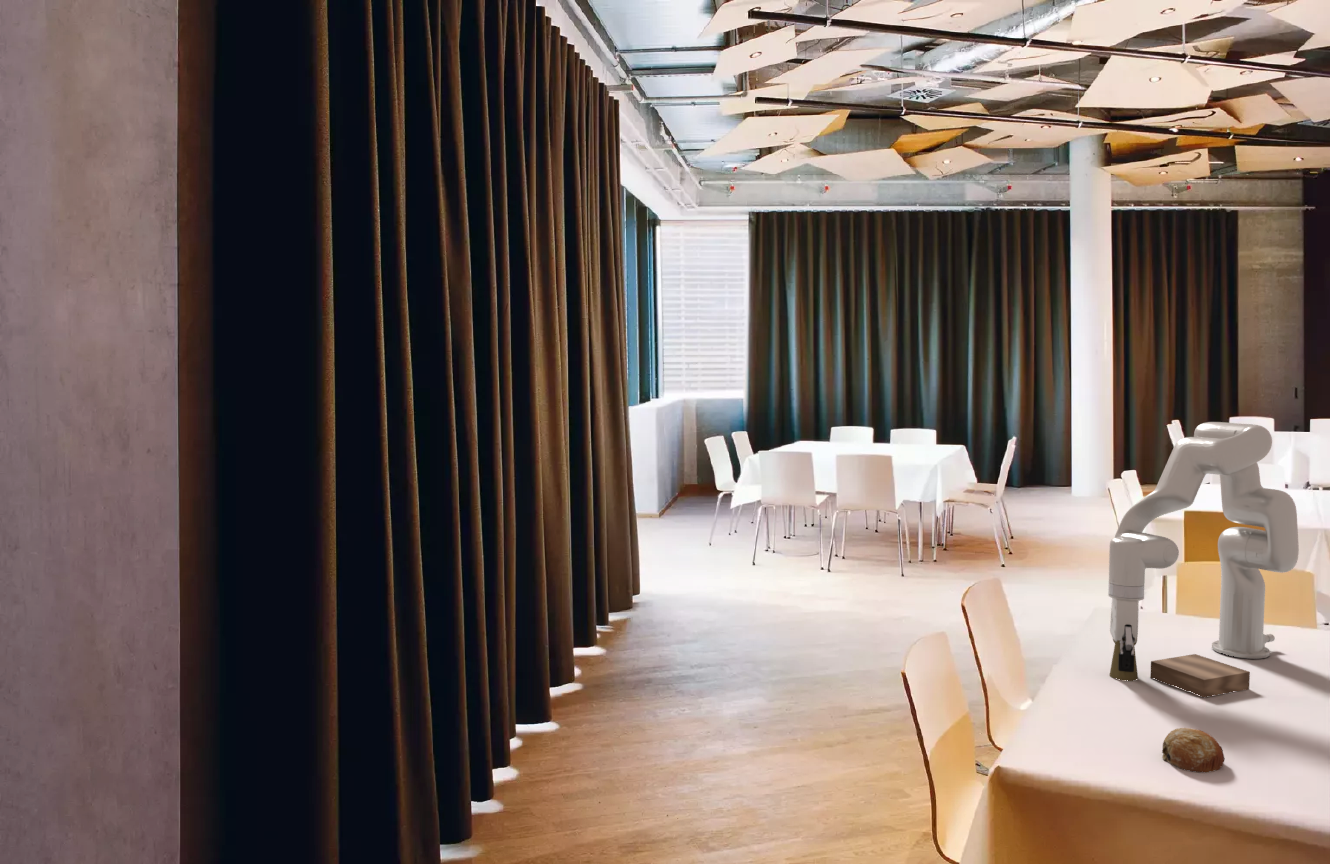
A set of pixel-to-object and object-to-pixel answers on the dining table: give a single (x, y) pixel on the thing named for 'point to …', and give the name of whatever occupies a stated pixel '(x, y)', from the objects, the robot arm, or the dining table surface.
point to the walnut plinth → (1200, 675)
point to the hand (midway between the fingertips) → (1124, 665)
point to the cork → (1114, 666)
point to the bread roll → (1192, 750)
